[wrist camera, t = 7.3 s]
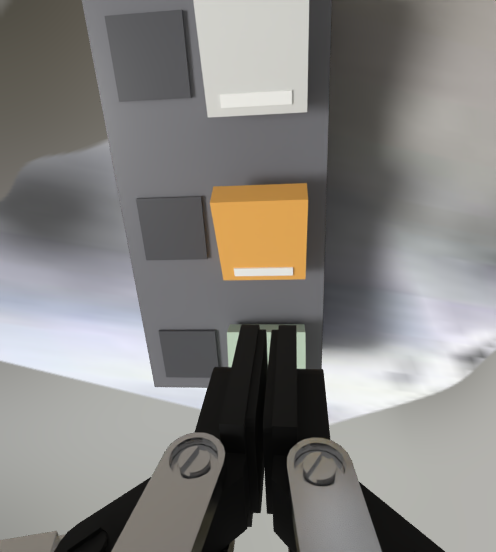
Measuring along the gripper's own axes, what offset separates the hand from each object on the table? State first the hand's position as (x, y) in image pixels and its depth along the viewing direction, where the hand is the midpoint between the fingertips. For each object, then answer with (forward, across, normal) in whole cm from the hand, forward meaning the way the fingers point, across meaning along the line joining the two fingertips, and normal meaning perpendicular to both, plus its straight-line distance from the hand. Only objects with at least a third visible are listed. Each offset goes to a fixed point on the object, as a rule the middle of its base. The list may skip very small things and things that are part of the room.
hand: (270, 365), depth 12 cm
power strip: (+13, +3, -4) cm, 14 cm away
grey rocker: (+8, +1, -9) cm, 12 cm away
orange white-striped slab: (+7, +1, -2) cm, 8 cm away
